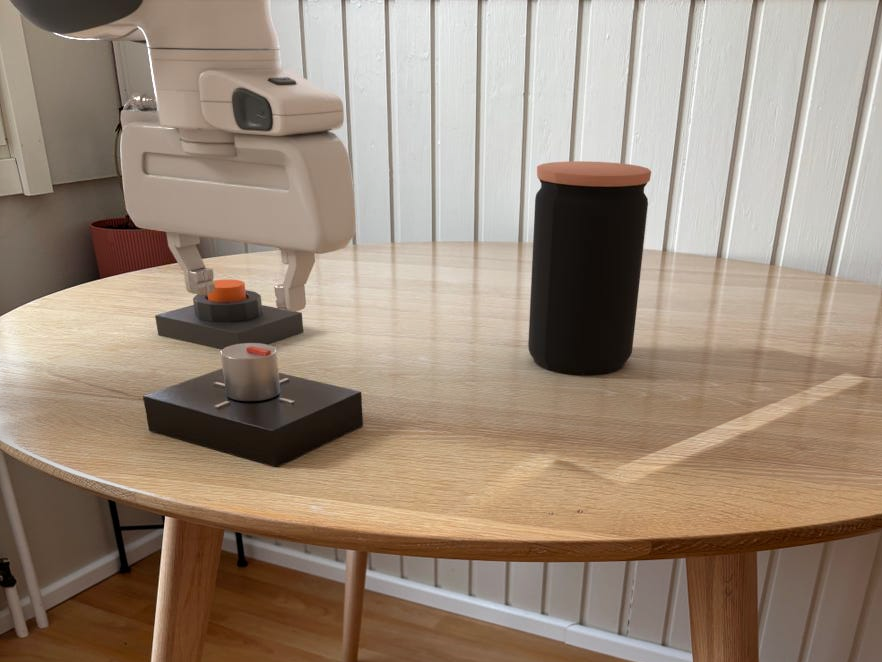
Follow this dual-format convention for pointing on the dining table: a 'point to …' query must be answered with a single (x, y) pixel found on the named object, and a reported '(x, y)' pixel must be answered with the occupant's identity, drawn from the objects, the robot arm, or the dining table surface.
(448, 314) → the dining table surface
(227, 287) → the power button
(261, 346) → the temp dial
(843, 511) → the dining table surface
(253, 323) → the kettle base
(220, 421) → the dial panel
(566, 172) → the coffee jar
